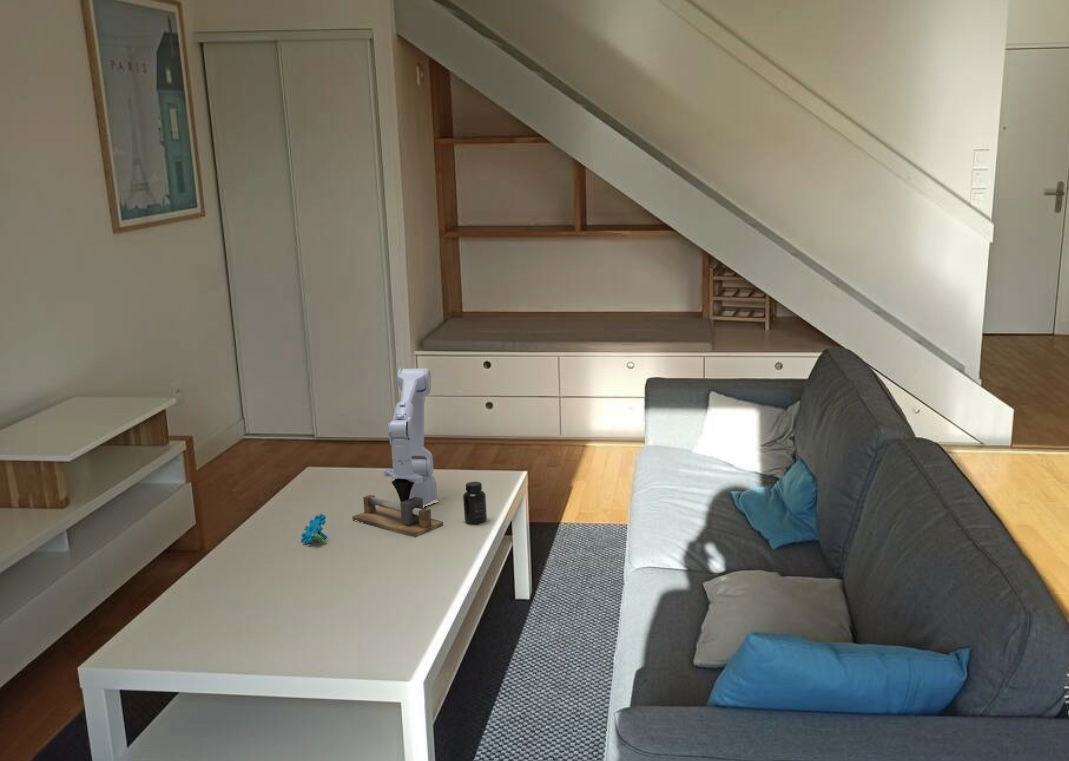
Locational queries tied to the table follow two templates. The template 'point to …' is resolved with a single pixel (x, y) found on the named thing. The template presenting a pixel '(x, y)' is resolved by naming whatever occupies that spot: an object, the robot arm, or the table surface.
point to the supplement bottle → (474, 504)
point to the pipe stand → (395, 517)
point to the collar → (410, 510)
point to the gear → (314, 530)
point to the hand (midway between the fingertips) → (404, 502)
